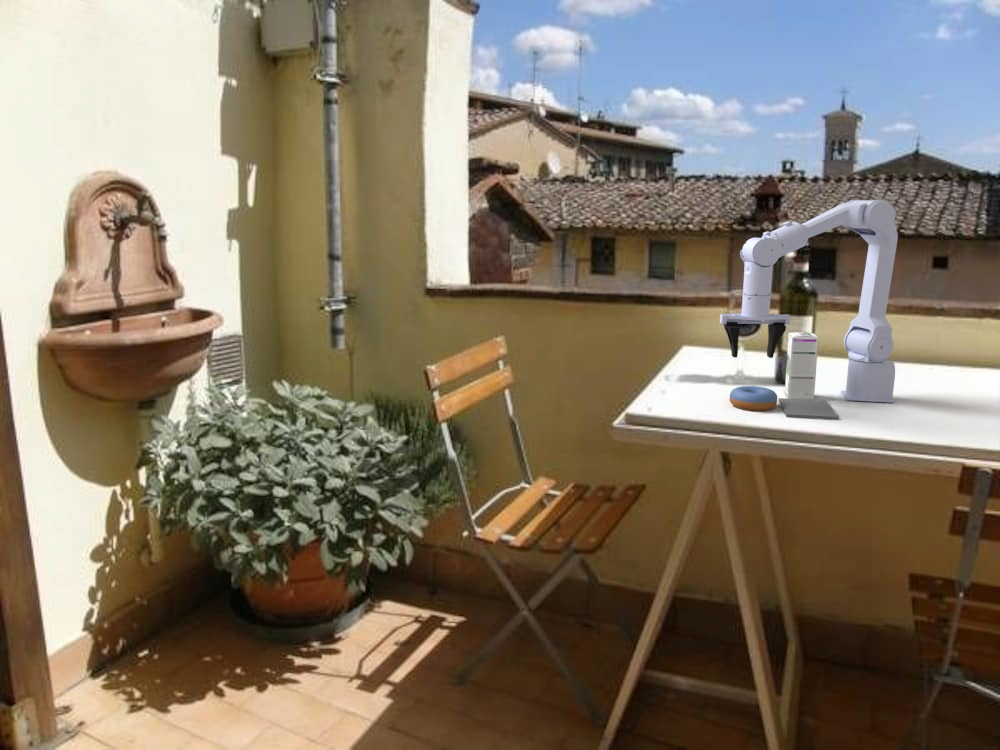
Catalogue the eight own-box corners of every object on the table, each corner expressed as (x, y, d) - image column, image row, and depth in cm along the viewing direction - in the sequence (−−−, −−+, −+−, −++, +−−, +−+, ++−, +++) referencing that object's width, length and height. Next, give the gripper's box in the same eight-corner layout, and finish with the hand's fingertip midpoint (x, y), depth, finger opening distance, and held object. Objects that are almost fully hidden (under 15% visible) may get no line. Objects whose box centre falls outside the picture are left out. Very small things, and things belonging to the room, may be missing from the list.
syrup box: (814, 400, 176) (820, 336, 173) (786, 399, 177) (792, 335, 174) (810, 394, 181) (815, 332, 178) (783, 393, 183) (788, 331, 179)
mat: (825, 403, 173) (826, 400, 173) (838, 419, 160) (838, 417, 160) (778, 400, 175) (778, 398, 175) (786, 416, 162) (786, 414, 162)
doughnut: (767, 399, 176) (767, 379, 175) (784, 413, 166) (784, 392, 165) (723, 403, 176) (723, 384, 175) (738, 417, 166) (737, 397, 165)
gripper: (785, 292, 172) (780, 353, 175) (718, 292, 173) (714, 353, 175) (795, 296, 165) (790, 359, 168) (725, 295, 166) (721, 359, 169)
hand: (752, 356), depth 171 cm, fingers open, 7 cm apart
